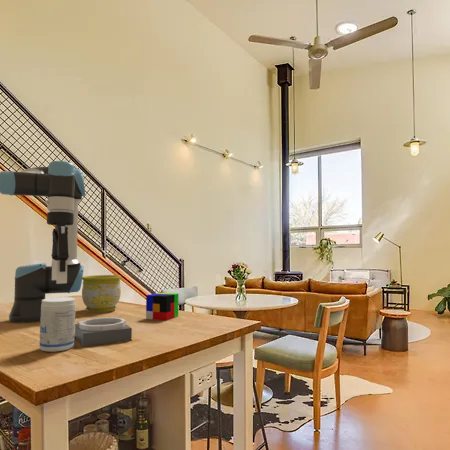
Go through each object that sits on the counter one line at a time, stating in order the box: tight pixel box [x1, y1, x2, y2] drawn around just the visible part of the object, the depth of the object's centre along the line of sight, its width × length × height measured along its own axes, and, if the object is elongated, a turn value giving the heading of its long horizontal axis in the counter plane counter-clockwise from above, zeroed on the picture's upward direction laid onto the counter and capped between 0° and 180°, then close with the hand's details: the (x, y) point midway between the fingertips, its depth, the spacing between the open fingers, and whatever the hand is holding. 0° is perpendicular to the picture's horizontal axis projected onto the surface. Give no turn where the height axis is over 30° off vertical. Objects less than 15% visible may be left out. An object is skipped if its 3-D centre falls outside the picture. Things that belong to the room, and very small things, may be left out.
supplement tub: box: [39, 296, 76, 353], centre depth 113 cm, size 10×10×15 cm
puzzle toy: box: [145, 292, 179, 321], centre depth 162 cm, size 10×10×10 cm
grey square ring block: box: [74, 317, 133, 348], centre depth 125 cm, size 16×15×6 cm
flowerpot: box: [81, 274, 122, 314], centre depth 180 cm, size 18×18×16 cm
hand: (58, 281), depth 113 cm, fingers open, 13 cm apart
